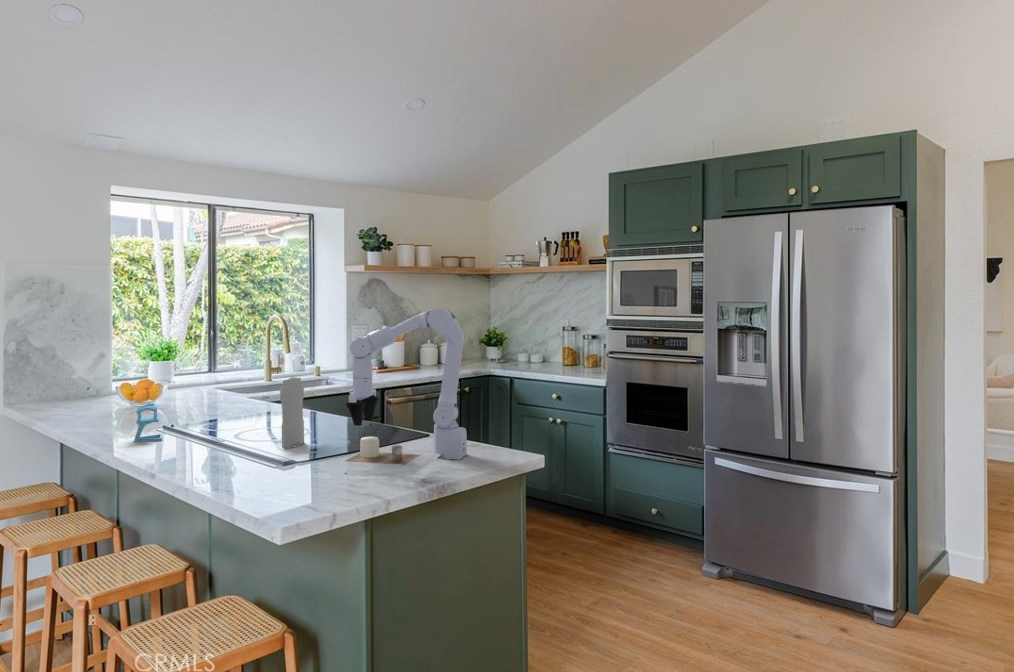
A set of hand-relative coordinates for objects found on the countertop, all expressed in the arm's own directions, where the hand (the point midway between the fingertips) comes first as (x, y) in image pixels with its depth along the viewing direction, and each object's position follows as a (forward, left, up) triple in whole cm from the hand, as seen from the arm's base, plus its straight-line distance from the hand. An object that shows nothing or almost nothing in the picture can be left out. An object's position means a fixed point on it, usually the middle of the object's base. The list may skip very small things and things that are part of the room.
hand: (363, 423), depth 211 cm
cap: (-5, +6, -8) cm, 11 cm away
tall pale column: (+27, -7, -10) cm, 30 cm away
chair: (+79, -5, -10) cm, 80 cm away
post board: (-10, +8, -10) cm, 16 cm away
